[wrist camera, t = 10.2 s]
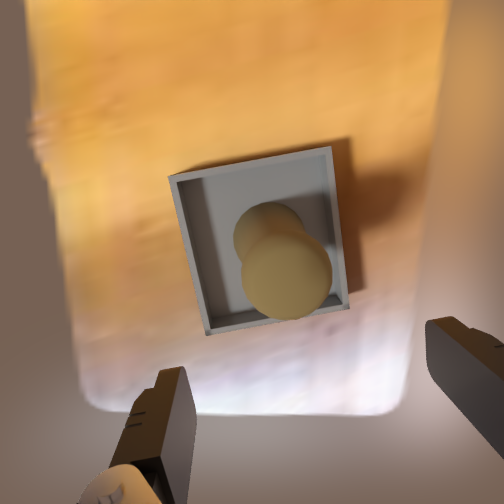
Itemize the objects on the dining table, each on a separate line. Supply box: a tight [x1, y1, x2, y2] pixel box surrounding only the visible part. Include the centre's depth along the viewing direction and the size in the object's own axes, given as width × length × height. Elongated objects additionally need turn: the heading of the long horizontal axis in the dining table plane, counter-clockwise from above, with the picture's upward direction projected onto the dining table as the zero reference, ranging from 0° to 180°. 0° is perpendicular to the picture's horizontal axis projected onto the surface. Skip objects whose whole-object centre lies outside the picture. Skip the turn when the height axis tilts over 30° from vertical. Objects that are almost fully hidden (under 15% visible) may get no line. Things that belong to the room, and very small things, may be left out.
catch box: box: [168, 146, 350, 336], centre depth 28 cm, size 13×12×2 cm
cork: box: [233, 202, 333, 320], centre depth 24 cm, size 6×6×11 cm
